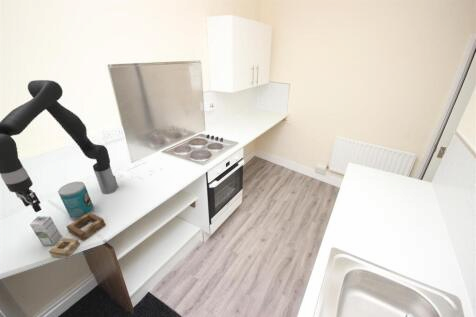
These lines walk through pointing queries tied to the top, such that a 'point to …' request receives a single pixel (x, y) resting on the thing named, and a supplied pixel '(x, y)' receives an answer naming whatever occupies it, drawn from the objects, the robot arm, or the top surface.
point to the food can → (76, 199)
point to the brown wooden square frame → (79, 223)
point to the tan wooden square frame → (59, 247)
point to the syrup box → (45, 230)
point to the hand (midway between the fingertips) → (33, 208)
